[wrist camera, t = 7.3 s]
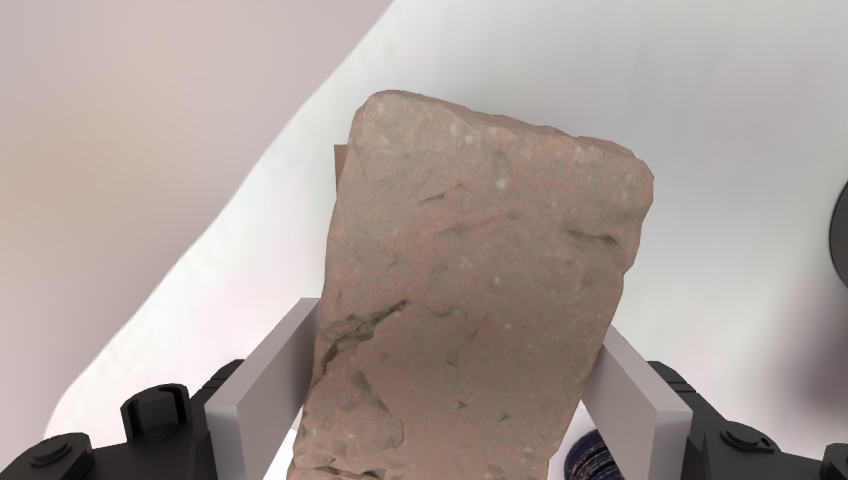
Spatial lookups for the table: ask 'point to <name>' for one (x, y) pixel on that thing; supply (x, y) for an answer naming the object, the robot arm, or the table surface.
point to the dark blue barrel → (591, 460)
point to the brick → (463, 293)
